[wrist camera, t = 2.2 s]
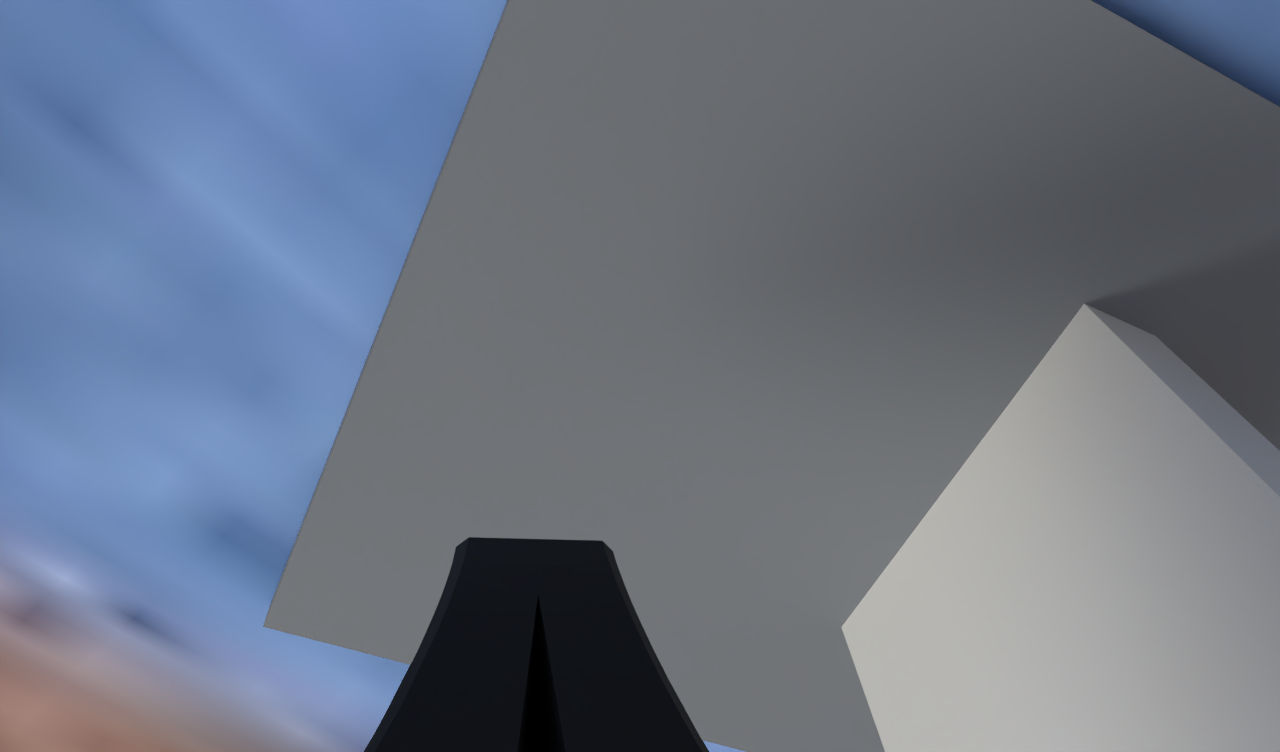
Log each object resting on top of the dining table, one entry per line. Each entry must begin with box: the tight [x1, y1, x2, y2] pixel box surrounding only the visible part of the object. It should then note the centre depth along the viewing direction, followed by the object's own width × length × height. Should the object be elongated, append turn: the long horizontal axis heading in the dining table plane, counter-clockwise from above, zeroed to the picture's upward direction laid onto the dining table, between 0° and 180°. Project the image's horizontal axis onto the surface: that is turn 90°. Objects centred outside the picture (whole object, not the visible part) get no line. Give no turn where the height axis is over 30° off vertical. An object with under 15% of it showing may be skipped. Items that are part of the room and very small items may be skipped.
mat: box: [263, 0, 1280, 752], centre depth 17 cm, size 20×14×1 cm
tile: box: [841, 304, 1280, 752], centre depth 14 cm, size 2×7×7 cm, turn 154°
